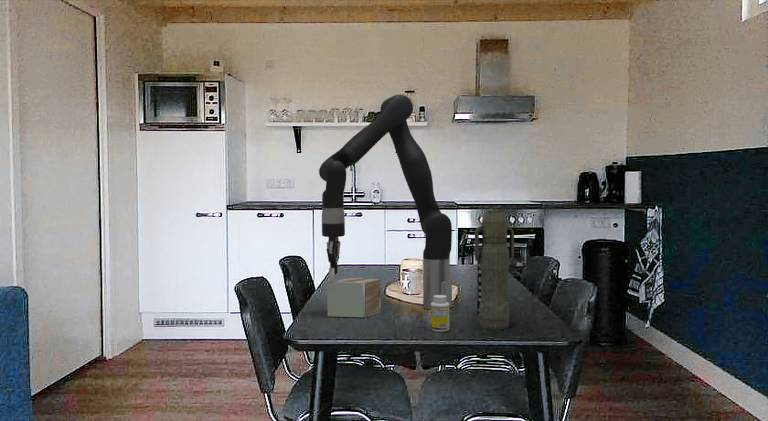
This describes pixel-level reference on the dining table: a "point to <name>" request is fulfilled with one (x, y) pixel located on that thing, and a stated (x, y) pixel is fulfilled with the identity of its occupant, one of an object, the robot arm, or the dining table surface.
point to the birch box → (369, 294)
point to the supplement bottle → (440, 314)
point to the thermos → (494, 269)
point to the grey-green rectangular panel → (345, 297)
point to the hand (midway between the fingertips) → (334, 273)
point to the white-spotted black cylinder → (478, 287)
